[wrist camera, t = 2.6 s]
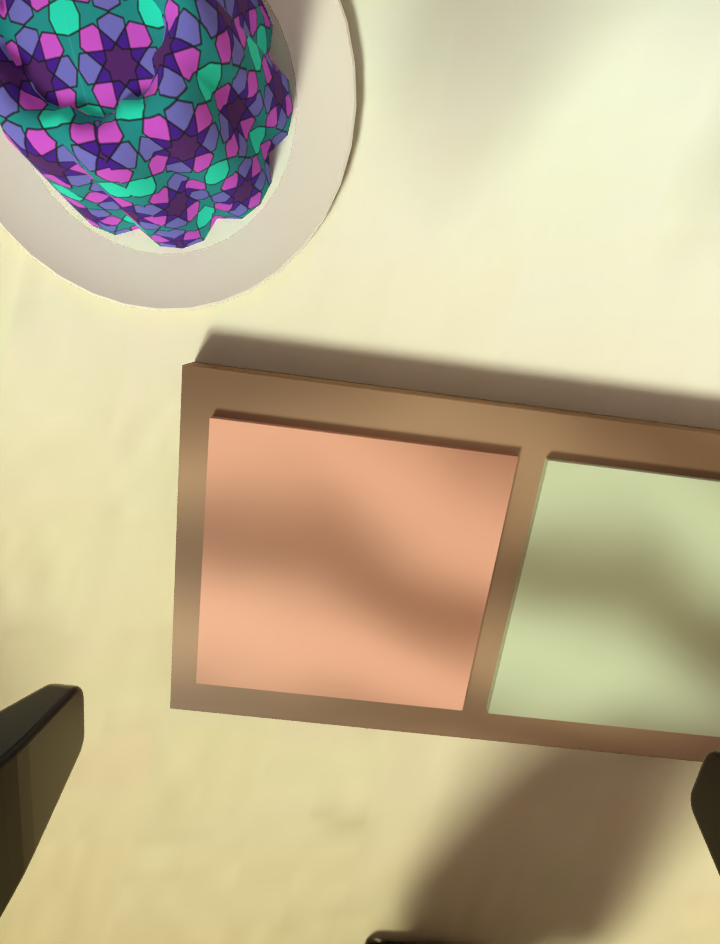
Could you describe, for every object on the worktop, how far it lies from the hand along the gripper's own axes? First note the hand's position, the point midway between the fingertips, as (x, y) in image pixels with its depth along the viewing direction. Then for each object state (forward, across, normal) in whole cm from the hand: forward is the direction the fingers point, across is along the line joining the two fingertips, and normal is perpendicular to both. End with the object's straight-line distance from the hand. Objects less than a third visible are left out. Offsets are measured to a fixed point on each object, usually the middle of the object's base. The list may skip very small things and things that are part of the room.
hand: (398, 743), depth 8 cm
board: (+12, -5, +3) cm, 13 cm away
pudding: (+13, +8, -11) cm, 19 cm away
